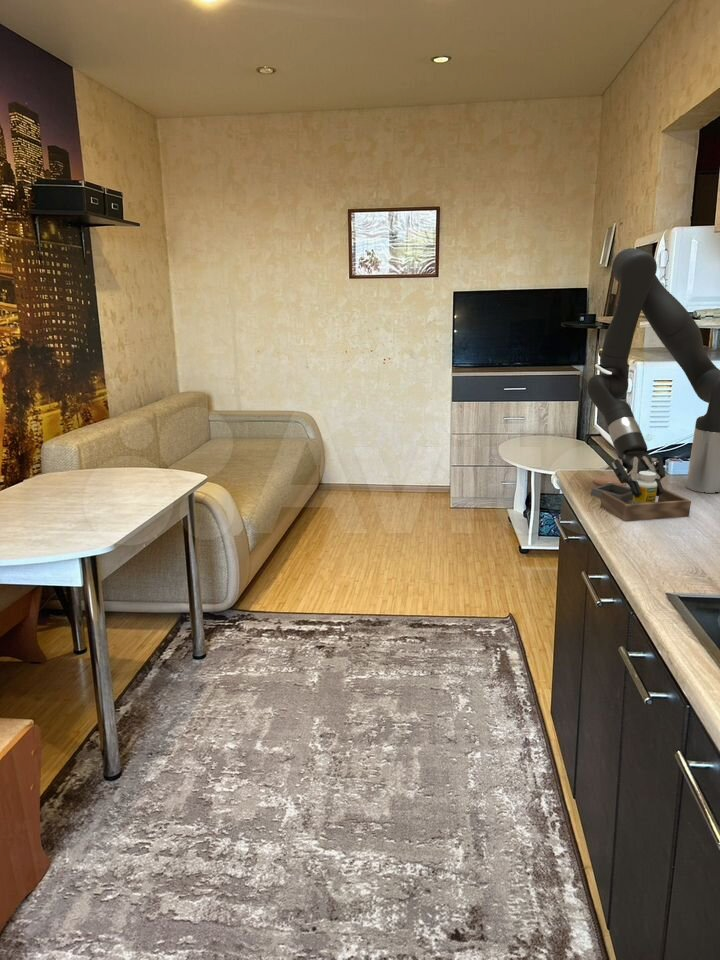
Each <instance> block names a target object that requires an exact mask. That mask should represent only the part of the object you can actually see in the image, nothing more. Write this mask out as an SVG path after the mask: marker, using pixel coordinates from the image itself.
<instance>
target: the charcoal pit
mask: <svg viewBox="0 0 720 960" xmlns="http://www.w3.org/2000/svg"><path fill="white" fill-rule="evenodd" d="M602 492H606V493H608V494H610V495H612V496H614V497H616V498H618V499H619V500H621V501H623V502H625V503H627V502H630V501H631V502H632V501H633V494H632V492H631V489H630V487H628V486H621V485H617V484H613V483H608V484H605V485H601V486H599V485H597V486H596V487H592V488H591V492H590V493H591V494H590V496H593V497H595V496H596V498H598V497H599V498H600V499H601V496H602Z"/></svg>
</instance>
